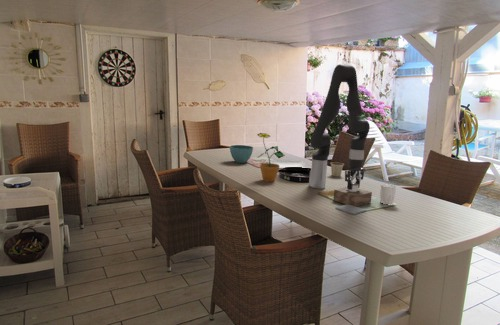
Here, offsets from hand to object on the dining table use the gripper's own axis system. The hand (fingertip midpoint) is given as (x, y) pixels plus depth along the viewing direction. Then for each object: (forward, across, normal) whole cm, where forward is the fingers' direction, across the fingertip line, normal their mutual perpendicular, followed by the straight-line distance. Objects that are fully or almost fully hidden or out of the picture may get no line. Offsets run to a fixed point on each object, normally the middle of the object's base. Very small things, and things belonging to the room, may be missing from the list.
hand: (353, 188), depth 204 cm
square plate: (+8, -29, -81) cm, 86 cm away
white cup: (+8, -14, +12) cm, 20 cm away
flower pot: (+8, -43, -46) cm, 63 cm away
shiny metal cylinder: (+5, 0, 0) cm, 5 cm away
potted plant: (+8, +9, -58) cm, 59 cm away
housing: (+7, 0, 0) cm, 7 cm away
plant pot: (+7, -11, -115) cm, 116 cm away
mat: (+7, +13, +9) cm, 17 cm away
